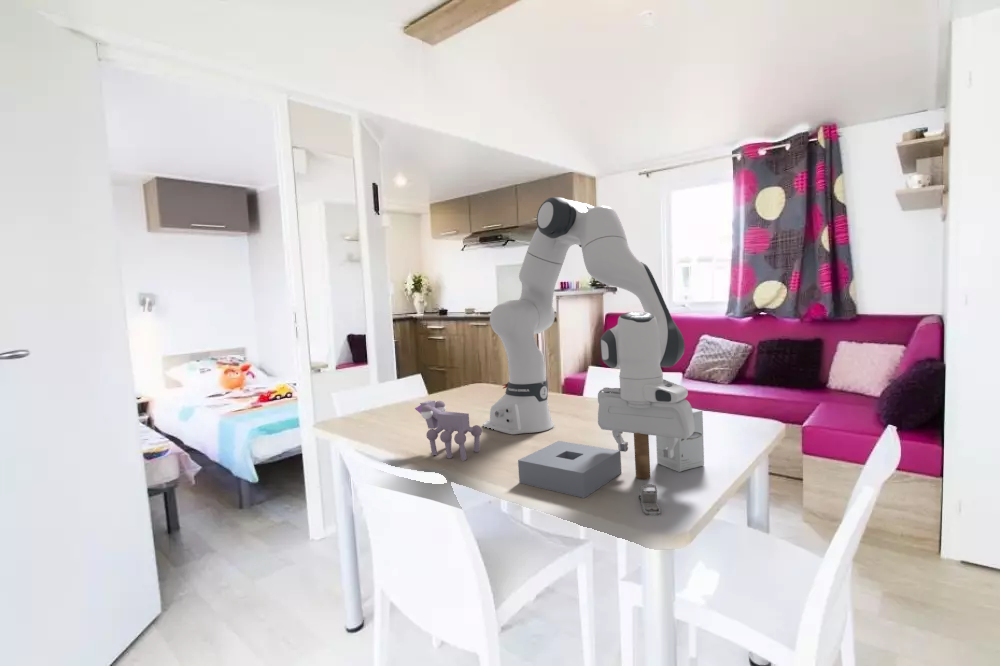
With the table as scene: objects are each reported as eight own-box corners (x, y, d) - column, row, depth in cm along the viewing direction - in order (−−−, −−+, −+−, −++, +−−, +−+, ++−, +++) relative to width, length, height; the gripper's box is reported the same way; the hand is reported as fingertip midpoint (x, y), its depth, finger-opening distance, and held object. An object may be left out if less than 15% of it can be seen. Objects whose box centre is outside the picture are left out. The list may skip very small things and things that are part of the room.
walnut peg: (633, 477, 107) (631, 431, 106) (639, 473, 109) (637, 428, 108) (646, 480, 105) (644, 433, 104) (652, 476, 107) (650, 430, 106)
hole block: (519, 482, 108) (517, 460, 108) (559, 461, 120) (558, 440, 120) (584, 498, 98) (582, 473, 98) (621, 472, 110) (620, 450, 110)
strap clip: (661, 517, 89) (661, 493, 88) (644, 517, 89) (643, 493, 89) (653, 497, 97) (653, 476, 97) (637, 497, 97) (636, 476, 97)
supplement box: (679, 473, 108) (677, 415, 107) (656, 463, 115) (653, 409, 114) (705, 466, 111) (703, 410, 110) (681, 457, 118) (679, 404, 117)
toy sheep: (403, 453, 135) (401, 403, 135) (430, 444, 144) (428, 397, 143) (461, 463, 124) (459, 408, 123) (486, 452, 133) (484, 401, 132)
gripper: (590, 389, 110) (594, 451, 111) (684, 395, 97) (688, 465, 98) (604, 384, 115) (608, 443, 115) (695, 389, 102) (698, 456, 102)
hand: (645, 453), depth 106 cm, fingers open, 8 cm apart
